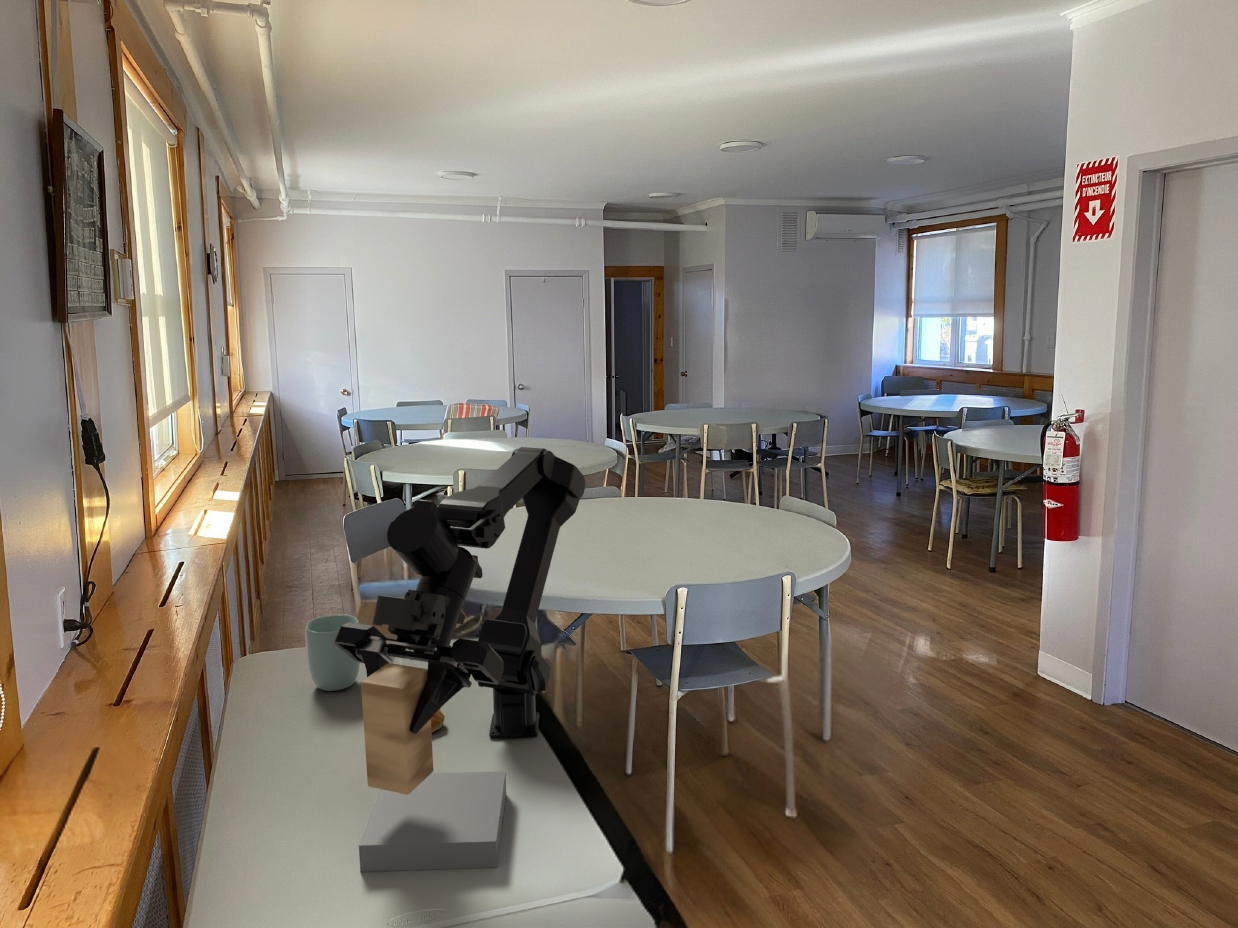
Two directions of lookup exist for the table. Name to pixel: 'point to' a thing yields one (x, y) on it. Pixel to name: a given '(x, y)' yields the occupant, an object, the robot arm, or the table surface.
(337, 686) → the cup
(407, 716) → the oak block
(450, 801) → the plinth
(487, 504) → the robot arm
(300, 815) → the table surface
